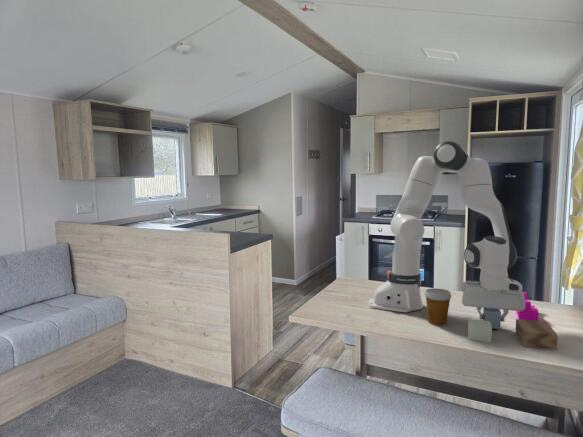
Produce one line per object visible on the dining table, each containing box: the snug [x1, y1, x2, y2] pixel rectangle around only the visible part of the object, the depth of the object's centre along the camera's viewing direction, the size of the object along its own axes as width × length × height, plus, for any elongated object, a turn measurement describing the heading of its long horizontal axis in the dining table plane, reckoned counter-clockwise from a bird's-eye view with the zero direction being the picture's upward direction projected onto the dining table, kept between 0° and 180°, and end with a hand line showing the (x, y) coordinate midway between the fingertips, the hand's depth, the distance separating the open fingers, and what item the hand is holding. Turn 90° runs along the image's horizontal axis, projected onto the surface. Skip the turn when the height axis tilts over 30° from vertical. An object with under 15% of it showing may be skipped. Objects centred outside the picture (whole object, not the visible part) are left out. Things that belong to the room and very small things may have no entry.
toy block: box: [515, 291, 539, 321], centre depth 157 cm, size 15×6×8 cm, turn 155°
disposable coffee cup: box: [424, 287, 452, 326], centre depth 150 cm, size 10×10×12 cm
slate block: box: [482, 308, 502, 330], centre depth 144 cm, size 5×5×6 cm
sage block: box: [467, 318, 493, 343], centre depth 136 cm, size 7×7×5 cm
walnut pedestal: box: [515, 318, 558, 351], centre depth 132 cm, size 9×12×5 cm
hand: (491, 320), depth 144 cm, fingers closed on slate block, 5 cm apart
